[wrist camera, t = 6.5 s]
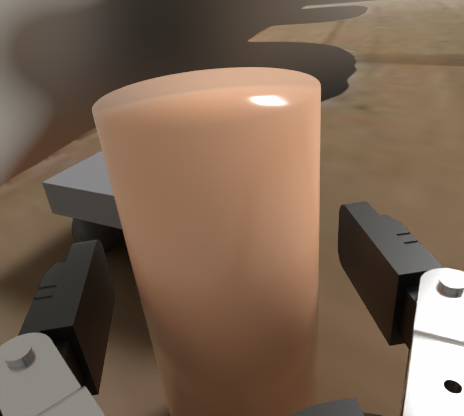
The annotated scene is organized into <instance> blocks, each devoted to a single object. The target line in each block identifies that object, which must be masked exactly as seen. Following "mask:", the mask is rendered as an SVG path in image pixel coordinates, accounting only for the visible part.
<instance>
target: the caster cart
mask: <svg viewBox="0 0 464 416" xmlns="http://www.w3.org/2000/svg"><path fill="white" fill-rule="evenodd" d="M42 184H43V186H44V189H45V192H46V195H47V198H48V201H49V204H50V207H51V210H52V213H54V214H59V215H63V216H67V217H71V218H73V222H72V233H73V236H74V239H75V240H76V242H77V243H79V242H86V241H93V240H100V241H101V243H102V246H103V249H104V250H107V249H109V248H111V247H112V246H113V245H114V244H115V243H116V241H117V240H118V238H119V236H120V234H121V231H122V226H121V222H120V218H119V214H118V210H117V206H116V202H115V198H114V194H113V191H112V187H111V183H110V179H109V175H108V171H107V167H106V163H105V159H104V155H103V152H102V151H101V152H99V153H97V154H95V155H93V156H91V157H89V158H87V159H85V160H84V161H82V162H80V163H78V164H76V165H74V166H72V167H70V168H68V169H66V170H65V171H63V172H61V173H59V174H57V175H55V176H53V177H51V178H49V179H47V180H46V181H44V182H42Z"/></svg>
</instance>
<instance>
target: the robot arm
mask: <svg viewBox="0 0 464 416" xmlns="http://www.w3.org/2000/svg"><path fill="white" fill-rule="evenodd" d="M338 254H339V259H340V263H341V265H342V267H343V269H344V271H345V272H346V274H347V276H348V277H349V279H350V281H351V282H352V284H353V286H354V287H355V289H356V291H357V292H358V294H359V296H360V297H361V299H362V301H363V302H364V304H365V306H366V307H367V309H368V311H369V312H370V314H371V316H372V317H373V319H374V321H375V322H376V324H377V326H378V327H379V329H380V331H381V332H382V334H383V335H384V337H385V339H386V340H387V342H388V344H389V345H390V346H391V345H397V344H403V343H405V344H406V345H407V347H408V348H409V352H408V358H407V365H406V373H405V380H404V387H403V394H402V402H401V409H400V416H464V272H462V271H458V270H454V269H448V268H444V267H443V266H442V265H441V264H440V263H439V262H438V261H437V260H436V259H435V258H434V257H433V256H432V255H431V254H430V253H429V252H428V251H427V250H426V249H425V247H424V246H423V245H422V244H421V243H420V242H419V243H418V240H417V239H416V238H415V237H414V236H413V235H412V234H410V232H409V231H408V230H407V229H406V228H405V227H404V225H403V224H402V223H401V222H399V221H397V220H395V219H393V218H391V217H389V216H387V215H380V216H379V214H378V213H377V212H376V211H375V210H374V209H373V208H372V207H371V206H370V204H369V203H368V202H359V203H352V204H345V205H341V207H340V210H339V231H338ZM114 300H115V294H114V285H113V280H112V277H111V273H110V270H109V267H108V263H107V260H106V256H105V253H104V249H103V246H102V243H101V241H100V240H93V241H86V242H79V243H73V244H72V245H71V248H70V251H69V253H68V256H67V259H66V261H65V262H58V263H55V264H54V265H53V266H52V267H51V268H50V269H49V270H48V271H47V272H46V273H45V274H44V276H43V278H42V281H41V283H40V285H39V290H37V293H36V295H35V297H34V301H33V302H32V304H31V307H30V309H29V311H28V314H27V316H26V318H25V321H24V323H23V325H22V328H21V330H20V332H19V335H18V336H17V337H15V338H13V339H11V340H9V341H7V342H6V343H4V344H3V345H1V346H0V416H105V415H104V414H103V412H102V410H101V409H100V407H99V406H98V404H97V403H96V401H95V400H94V398H93V397H92V395H97V394H99V388H100V382H101V376H102V371H103V365H104V359H105V353H106V347H107V342H108V336H109V330H110V324H111V318H112V313H113V307H114ZM289 416H381V415H376V414H370V413H363V412H362V410H361V407H360V405H359V403H358V401H357V398H351V399H345V400H340V401H334V402H329V403H323V404H317V405H312V406H309V407H307V408H305V409H302V410H300V411H298V412H296V413H294V414H292V415H289Z"/></svg>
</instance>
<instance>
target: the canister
mask: <svg viewBox="0 0 464 416" xmlns="http://www.w3.org/2000/svg"><path fill="white" fill-rule="evenodd" d="M320 106H321V85H320V82H319V81H318V80H317V79H316V78H314V77H313V76H310V75H308V74H305V73H302V72H298V71H293V70H287V69H278V68H261V67H242V68H241V67H240V68H221V69H209V70H200V71H192V72H185V73H179V74H173V75H168V76H162V77H158V78H153V79H149V80H145V81H142V82H138V83H135V84H131V85H128V86H125V87H123V88H120V89H118V90H115V91H113V92H111V93H109V94H107V95H105V96H103V97H102V98H100V99H99V100H98V101H97V102H96V103H95V104H94V105H93V108H92V112H93V116H94V120H95V124H96V128H97V132H98V136H99V140H100V144H101V148H102V152H103V155H104V159H105V163H106V167H107V171H108V175H109V179H110V183H111V187H112V191H113V194H114V198H115V202H116V206H117V210H118V214H119V218H120V222H121V226H122V230H123V234H124V237H125V241H126V245H127V249H128V253H129V257H130V261H131V265H132V269H133V273H134V277H135V280H136V284H137V288H138V292H139V296H140V300H141V304H142V308H143V312H144V316H145V320H146V323H147V327H148V331H149V335H150V339H151V343H152V347H153V351H154V355H155V359H156V363H157V366H158V370H159V374H160V378H161V382H162V386H163V390H164V394H165V398H166V402H167V405H168V409H169V413H170V416H289V415H292V414H294V413H296V412H298V411H300V410H302V409H305V408H307V407H309V406H312V405H317V355H318V272H319V189H320Z"/></svg>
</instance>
